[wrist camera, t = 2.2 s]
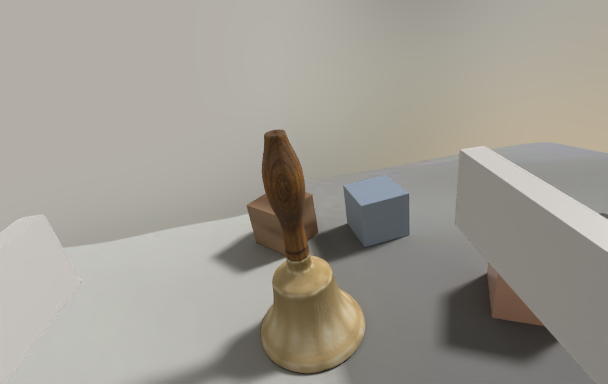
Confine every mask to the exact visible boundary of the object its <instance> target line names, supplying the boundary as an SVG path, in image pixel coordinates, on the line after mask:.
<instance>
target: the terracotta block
mask: <svg viewBox="0 0 608 384" xmlns="http://www.w3.org/2000/svg"><path fill="white" fill-rule="evenodd" d="M487 276H488V285H489V294H490V303H491V313H492V318H497V319H503V320H509V321H515V322H522V323H528V324H534V325H541V326H544V325H543V323H542V322H541V321H540V320H539V319H538V318H537V317H536V316H535V314H534V313H533V312H532V311H531V310H530V309H529V308H528V306H527V305H526V304H525V303H524V302H523V301H522V300H521V299H520V297H519V296H518V295H517V294H516V293H515V292H514V291H513V289H512V288H511V287H510V286H509V285H508V284H507V283H506V282H505V280H504V279H503V278H502V277H501V276H500V275H499V274H498V272H497V271H496V270H495V269H494V268H493V267H492V266H491V265H490V263H489V262H488V270H487Z"/></svg>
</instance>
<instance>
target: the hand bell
mask: <svg viewBox="0 0 608 384" xmlns="http://www.w3.org/2000/svg"><path fill="white" fill-rule="evenodd" d="M262 178H263V183H264V188H265V192H266V196H267V198H268V201H269V204H270V206H271V208H272V210H273V212H274V213H275V215H276V217H277V218H278V220H279V222H280V225H281V229H282V234H283V241H284V247H285V254H286V260H287V261H285V262H284V263H283V264H281V265H280V266H279V267H278V268H277V270H276V271H275V273H274V276H273V281H272V284H273V292H274V304H273V305H272V306H271V307H270V308H269V310H268V312H267V313H266V315H265V318H264V320H263V323H262V327H261V342H262V346H263V348H264V350H265V352H266V354H267V355H268V357H269V358H270V359H271V360H272V361H273V362H275V363H276V364H277V365H279V366H281V367H283V368H285V369H287V370H290V371H294V372H300V373H315V372H321V371H324V370H327V369H330V368H333V367H335V366H337V365H339V364H341V363H343V362H344V361H345V360H346V359H348V358H349V357H350V356H351V355H352V354H353V353H354V352H355V351H356V350H357V348H358V346H359V345H360V343H361V341H362V339H363V336H364V332H365V318H364V314H363V311H362V309H361V307H360V306H359V304H358V303H357V302H356V301H355V300H354V299H353V298H352V297H351V296H350V295H349V294H347V293H346V292H344V291H343V290H340V289H339V288H338V286H337V284H336V281H335V279H334V276H333V272H332V269H331V267H330V265H329V264H328V263H327V262H326V261H325V260H323V259H321V258H319V257H316V256H310V254H309V246H308V243H307V238H306V234H305V229H304V224H303V212H304V206H305V182H304V176H303V172H302V167H301V164H300V162H299V159H298V157H297V155H296V153H295V151H294V150H293V148H292V147H291V144H290V143H289V140H288V138H287V135H286V132H285V131H284V130H273V131H269V132H267V133H265V135H264V153H263V161H262Z"/></svg>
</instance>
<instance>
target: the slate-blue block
mask: <svg viewBox="0 0 608 384" xmlns="http://www.w3.org/2000/svg"><path fill="white" fill-rule="evenodd" d="M343 186H344V196H345V205H346V214H347V224H348V225H349V226H350V228H351V229H352V230H353V232H354V233H355V235H356V236H357V237H358V239H359V240H360V242H361V243H362V244H363V246H364V247H368V246H372V245H375V244H379V243H382V242H386V241H390V240H393V239H397V238H400V237H404V236H407V235H409V193H408V192H407V191H405V190H404V189H403V188H402V187H400V186H399V185H398V184H397V183H396V182H394V181H393V180H392V179H391V178H389V177H388V176H387V175H383V176H379V177H375V178H371V179H367V180H363V181H359V182H355V183H351V184H347V185H343Z"/></svg>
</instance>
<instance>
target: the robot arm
mask: <svg viewBox="0 0 608 384" xmlns="http://www.w3.org/2000/svg"><path fill="white" fill-rule="evenodd" d="M455 225H456V226H457V227H458V228H459V229H460V230H461V232H462V233H463V234H464V235H465V236H466V237H467V238H468V240H469V241H470V242H471V243H472V244H473V245H474V246H475V248H476V249H477V250H478V251H479V252H480V253H481V254H482V255H483V257H484V258H485V259H486V260H487V261H488V262H489V263H490V265H491V266H492V267H493V268H494V269H495V270H496V271H497V272H498V274H499V275H500V276H501V277H502V278H503V279H504V280H505V282H506V283H507V284H508V285H509V286H510V287H511V288H512V289H513V291H514V292H515V293H516V294H517V295H518V296H519V297H520V299H521V300H522V301H523V302H524V303H525V304H526V305H527V306H528V308H529V309H530V310H531V311H532V312H533V313H534V314H535V316H536V317H537V318H538V319H539V320H540V321H541V322H542V323H543V325H544V326H545V327H546V328H547V329H548V330H549V331H550V333H551V334H552V335H553V336H554V337H555V338H556V339H557V340H558V342H559V343H560V344H561V345H562V346H563V347H564V348H565V350H566V351H567V352H568V353H569V354H570V355H571V356H572V357H573V359H574V360H575V361H576V362H577V363H578V364H579V365H580V367H581V368H582V369H583V370H584V371H585V372H586V373H587V374H588V376H589V377H590V378H591V379H592V380H593V381H594V382H595V384H608V215H607V214H604V213H601V214H598V213H596V212H595V211H593V210H591V209H590V208H588V207H586V206H584V205H583V204H581V203H579V202H578V201H576V200H574V199H573V198H571V197H569V196H568V195H566V194H564V193H563V192H561V191H559V190H558V189H556V188H554V187H553V186H551V185H549V184H547V183H546V182H544V181H542V180H541V179H539V178H537V177H536V176H534V175H532V174H531V173H529V172H527V171H526V170H524V169H522V168H521V167H519V166H517V165H516V164H514V163H512V162H511V161H509V160H507V159H505V158H504V157H502V156H500V155H499V154H497V153H495V152H494V151H492V150H490V149H489V148H487V147H485V146H480V147H473V148H466V149H460V154H459V169H458V184H457V198H456V213H455ZM80 284H81V280H80V278H79V276H78V275H77V273H76V271H75V269H74V267H73V266H72V264H71V262H70V260H69V258H68V257H67V255H66V253H65V251H64V249H63V247H62V246H61V244H60V242H59V240H58V238H57V237H56V235H55V233H54V231H53V229H52V227H51V226H50V224H49V222H48V220H47V219H46V217H45V215H44V214H42V215H35V216H29V217H22V218H19V219H18V220H16V221H15V222H14V223H12V224H11V225H10V226H8V227H7V228H6V229H4V230H3V231H2V232H1V233H0V384H5V383H6V382H7V380H8V379H9V378H10V376H11V375H12V374H13V372H14V371H15V370H16V368H17V367H18V366H19V364H20V363H21V362H22V360H23V359H24V358H25V357H26V355H27V354H28V353H29V351H30V350H31V349H32V347H33V346H34V345H35V343H36V342H37V341H38V339H39V338H40V337H41V335H42V334H43V333H44V331H45V330H46V329H47V327H48V326H49V325H50V323H51V322H52V321H53V319H54V318H55V317H56V315H57V314H58V313H59V311H60V310H61V309H62V307H63V306H64V305H65V303H66V302H67V301H68V299H69V298H70V297H71V295H72V294H73V293H74V291H75V290H76V289H77V287H78V286H79V285H80Z"/></svg>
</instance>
